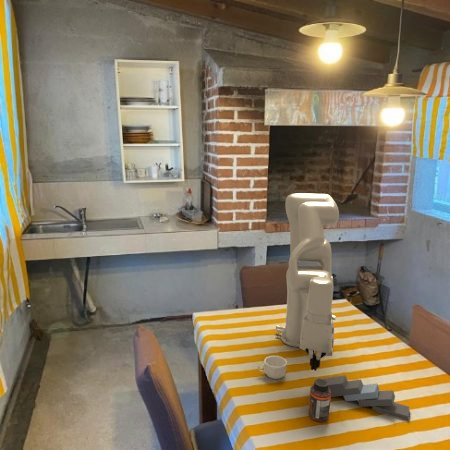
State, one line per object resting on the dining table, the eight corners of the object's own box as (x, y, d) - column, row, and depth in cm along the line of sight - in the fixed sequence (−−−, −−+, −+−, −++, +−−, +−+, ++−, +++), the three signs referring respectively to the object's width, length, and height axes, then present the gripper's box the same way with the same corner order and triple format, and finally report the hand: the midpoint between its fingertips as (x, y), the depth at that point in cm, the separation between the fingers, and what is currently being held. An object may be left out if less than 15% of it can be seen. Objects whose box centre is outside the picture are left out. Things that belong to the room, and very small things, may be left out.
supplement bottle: (305, 409, 123) (308, 376, 120) (324, 408, 123) (327, 375, 121) (311, 423, 117) (314, 388, 115) (331, 422, 117) (334, 387, 115)
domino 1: (313, 387, 131) (342, 383, 126) (317, 379, 135) (345, 375, 131) (315, 392, 131) (345, 389, 126) (319, 384, 135) (348, 381, 131)
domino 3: (343, 395, 127) (374, 391, 122) (346, 387, 131) (377, 383, 126) (345, 401, 127) (377, 398, 122) (348, 392, 131) (379, 389, 126)
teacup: (282, 368, 145) (283, 355, 143) (288, 381, 137) (289, 366, 136) (255, 370, 143) (256, 356, 142) (259, 382, 136) (260, 368, 135)
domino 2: (327, 391, 129) (358, 387, 124) (331, 383, 133) (361, 379, 129) (330, 397, 129) (360, 393, 124) (333, 388, 133) (363, 385, 128)
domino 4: (357, 400, 125) (391, 399, 120) (360, 391, 129) (393, 390, 124) (359, 406, 125) (393, 405, 120) (362, 397, 129) (395, 396, 124)
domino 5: (372, 405, 123) (408, 416, 119) (374, 396, 127) (409, 406, 123) (372, 411, 123) (407, 422, 119) (374, 402, 128) (408, 412, 124)
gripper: (344, 316, 129) (340, 368, 132) (299, 307, 135) (295, 357, 139) (340, 325, 122) (335, 380, 126) (292, 315, 129) (289, 367, 132)
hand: (314, 368), depth 132 cm, fingers closed
